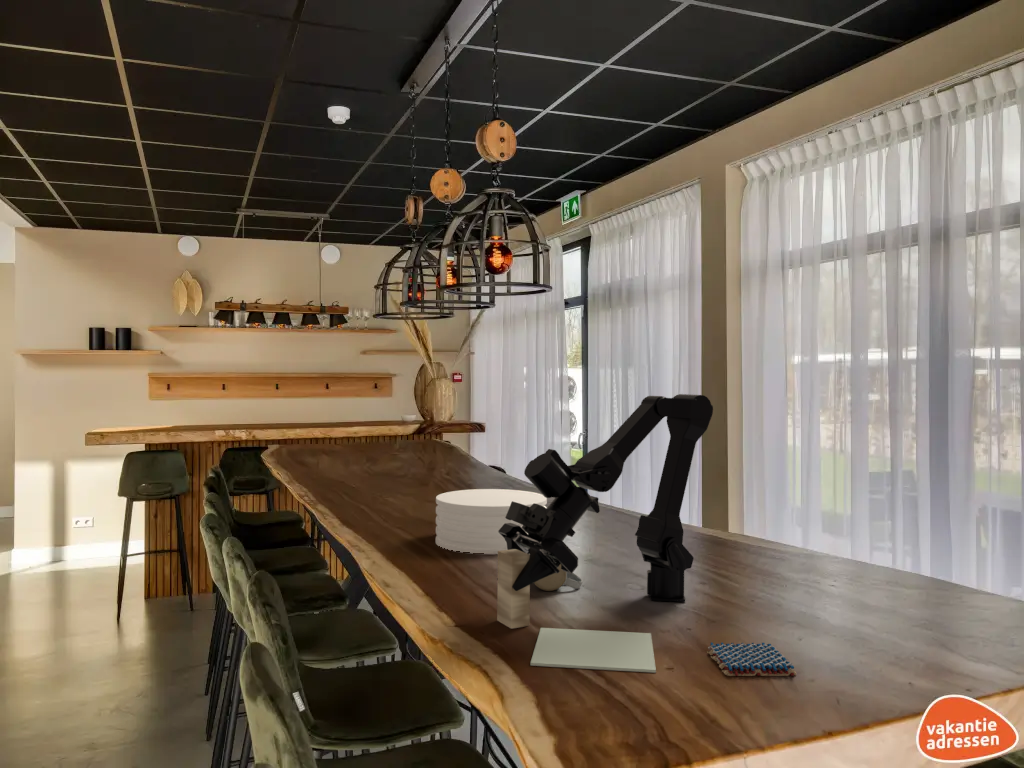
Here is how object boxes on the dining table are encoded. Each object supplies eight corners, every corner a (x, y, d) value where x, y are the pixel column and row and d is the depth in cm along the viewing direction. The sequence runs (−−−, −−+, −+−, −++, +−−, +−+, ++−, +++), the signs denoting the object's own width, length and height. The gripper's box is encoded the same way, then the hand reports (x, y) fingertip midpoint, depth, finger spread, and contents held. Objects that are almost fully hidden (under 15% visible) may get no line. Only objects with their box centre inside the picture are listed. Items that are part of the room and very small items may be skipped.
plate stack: (419, 550, 189) (419, 503, 189) (455, 528, 216) (455, 487, 216) (533, 558, 182) (533, 508, 182) (555, 534, 209) (556, 491, 209)
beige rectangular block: (515, 617, 137) (515, 548, 137) (529, 625, 133) (530, 554, 132) (497, 620, 135) (497, 550, 135) (511, 628, 131) (511, 556, 131)
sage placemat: (650, 635, 128) (650, 633, 128) (655, 672, 112) (655, 669, 112) (540, 630, 130) (540, 627, 130) (530, 665, 114) (530, 662, 114)
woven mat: (771, 653, 122) (772, 640, 122) (798, 680, 111) (799, 666, 111) (705, 653, 121) (705, 640, 121) (725, 680, 111) (725, 666, 111)
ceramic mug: (530, 592, 153) (531, 553, 152) (527, 581, 161) (529, 544, 161) (584, 593, 153) (585, 554, 153) (579, 582, 161) (580, 545, 161)
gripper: (508, 478, 144) (452, 544, 138) (563, 492, 127) (503, 567, 122) (544, 517, 148) (492, 583, 142) (602, 536, 131) (545, 611, 126)
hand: (506, 585), depth 133 cm, fingers closed on beige rectangular block, 5 cm apart
